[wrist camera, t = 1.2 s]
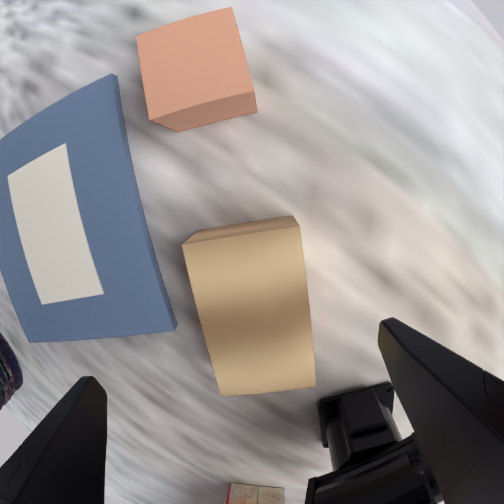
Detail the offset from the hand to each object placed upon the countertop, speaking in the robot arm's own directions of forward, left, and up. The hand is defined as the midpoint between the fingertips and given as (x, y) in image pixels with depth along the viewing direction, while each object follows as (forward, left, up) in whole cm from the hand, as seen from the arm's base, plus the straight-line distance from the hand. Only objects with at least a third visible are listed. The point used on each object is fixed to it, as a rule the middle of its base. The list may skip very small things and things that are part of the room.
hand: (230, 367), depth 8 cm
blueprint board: (+5, +14, -11) cm, 19 cm away
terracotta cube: (+11, 0, -11) cm, 16 cm away
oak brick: (-3, 0, -12) cm, 12 cm away
